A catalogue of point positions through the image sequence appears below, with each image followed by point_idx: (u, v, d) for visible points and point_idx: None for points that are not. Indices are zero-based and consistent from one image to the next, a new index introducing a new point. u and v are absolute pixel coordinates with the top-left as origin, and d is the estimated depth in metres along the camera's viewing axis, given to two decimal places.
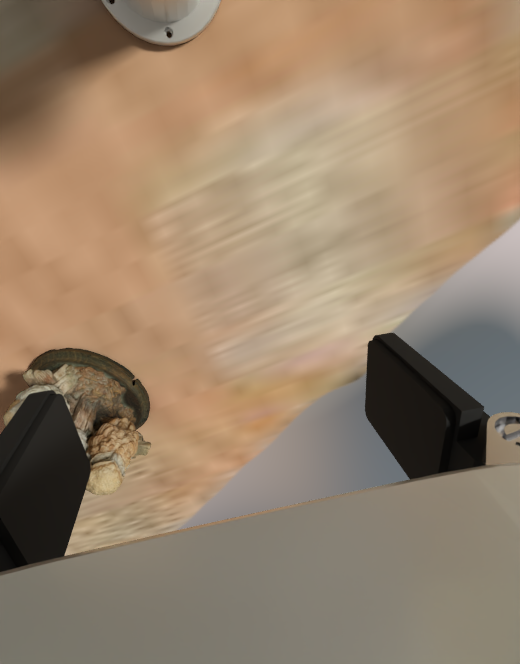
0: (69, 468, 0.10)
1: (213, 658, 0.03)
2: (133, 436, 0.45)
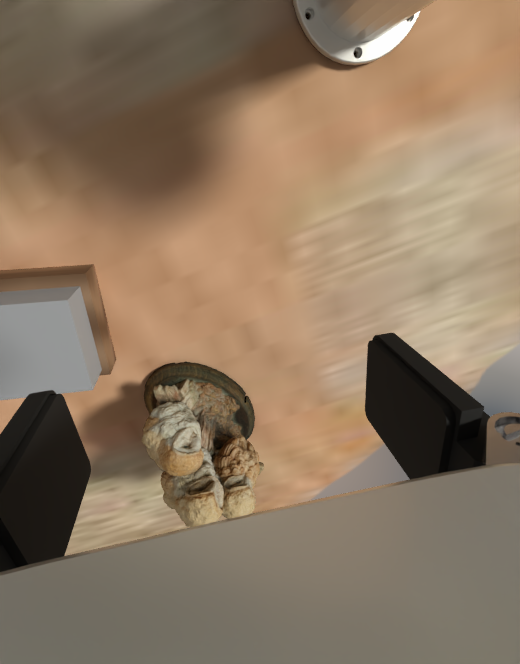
0: (69, 468, 0.10)
1: (213, 658, 0.03)
2: (256, 458, 0.44)
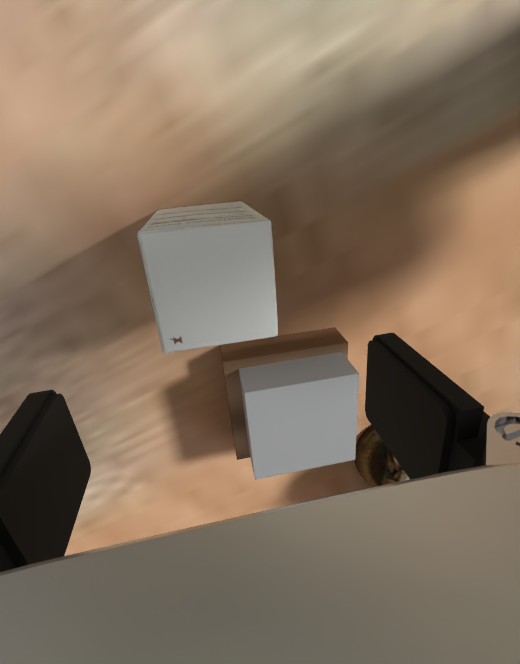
0: (69, 468, 0.10)
1: (213, 658, 0.03)
2: None
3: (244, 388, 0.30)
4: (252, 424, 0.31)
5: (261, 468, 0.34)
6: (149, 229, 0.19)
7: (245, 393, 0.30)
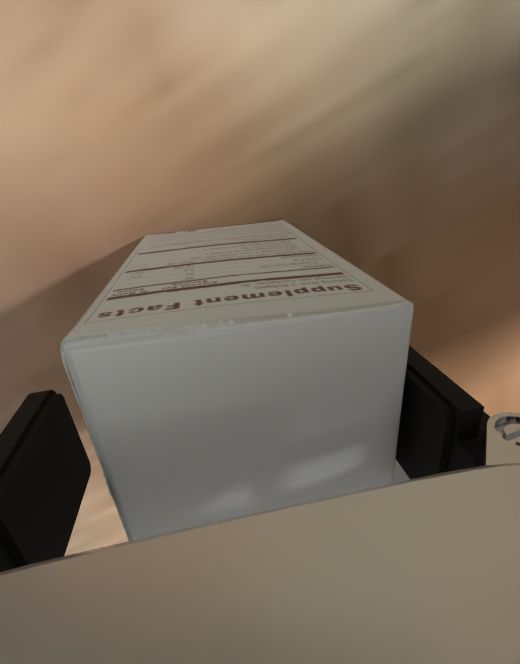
0: (69, 468, 0.10)
1: (213, 658, 0.03)
2: None
3: None
4: None
5: None
6: (93, 334, 0.07)
7: None
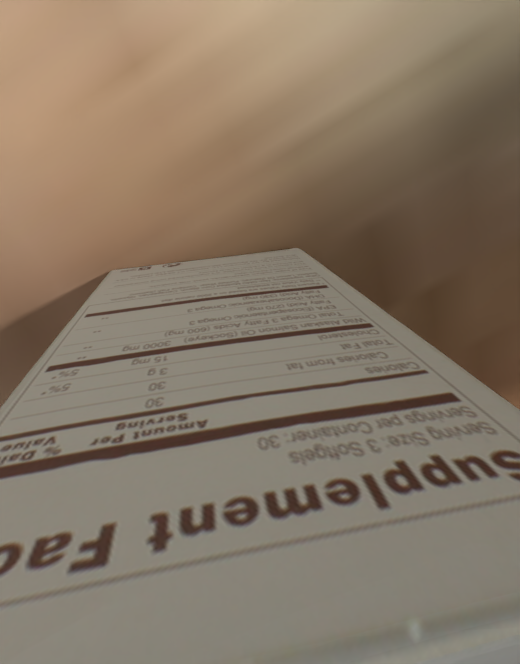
0: None
1: None
2: None
3: None
4: None
5: None
6: None
7: None
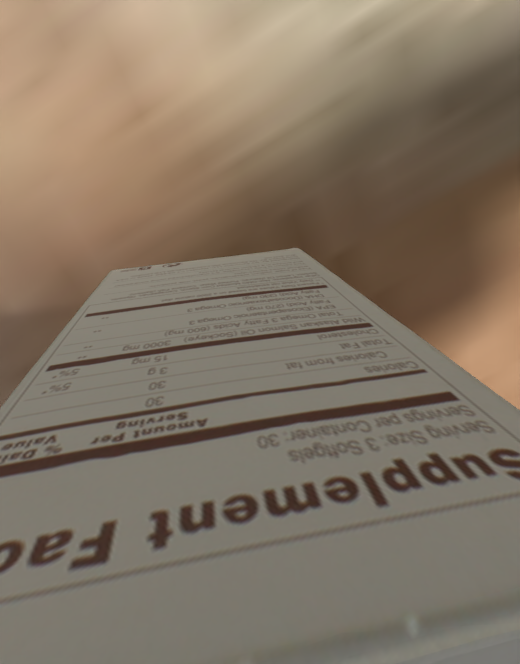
0: None
1: None
2: None
3: None
4: None
5: None
6: None
7: None
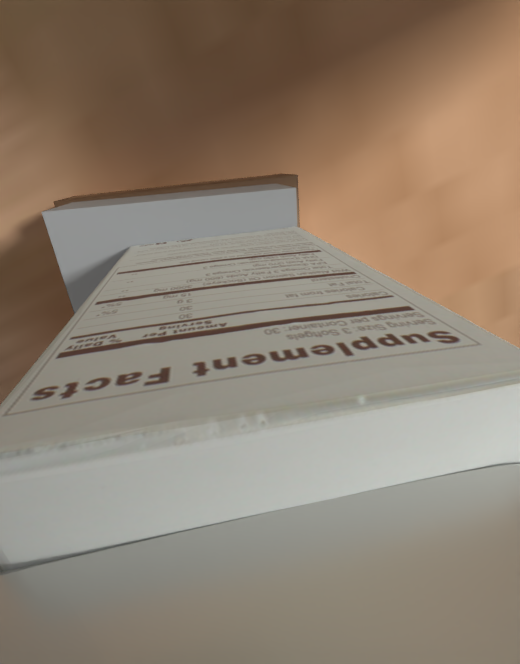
0: None
1: (213, 658, 0.03)
2: None
3: (50, 209, 0.14)
4: (77, 295, 0.15)
5: None
6: (9, 447, 0.04)
7: (45, 213, 0.14)
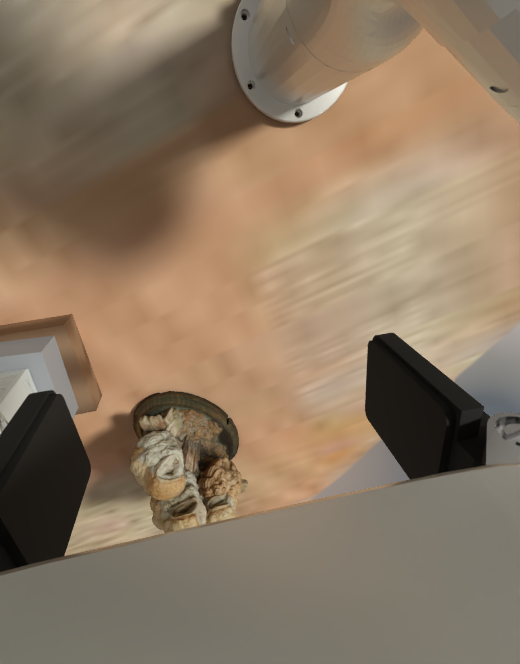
0: (69, 468, 0.10)
1: (213, 658, 0.03)
2: (238, 477, 0.47)
3: None
4: None
5: None
6: None
7: None
